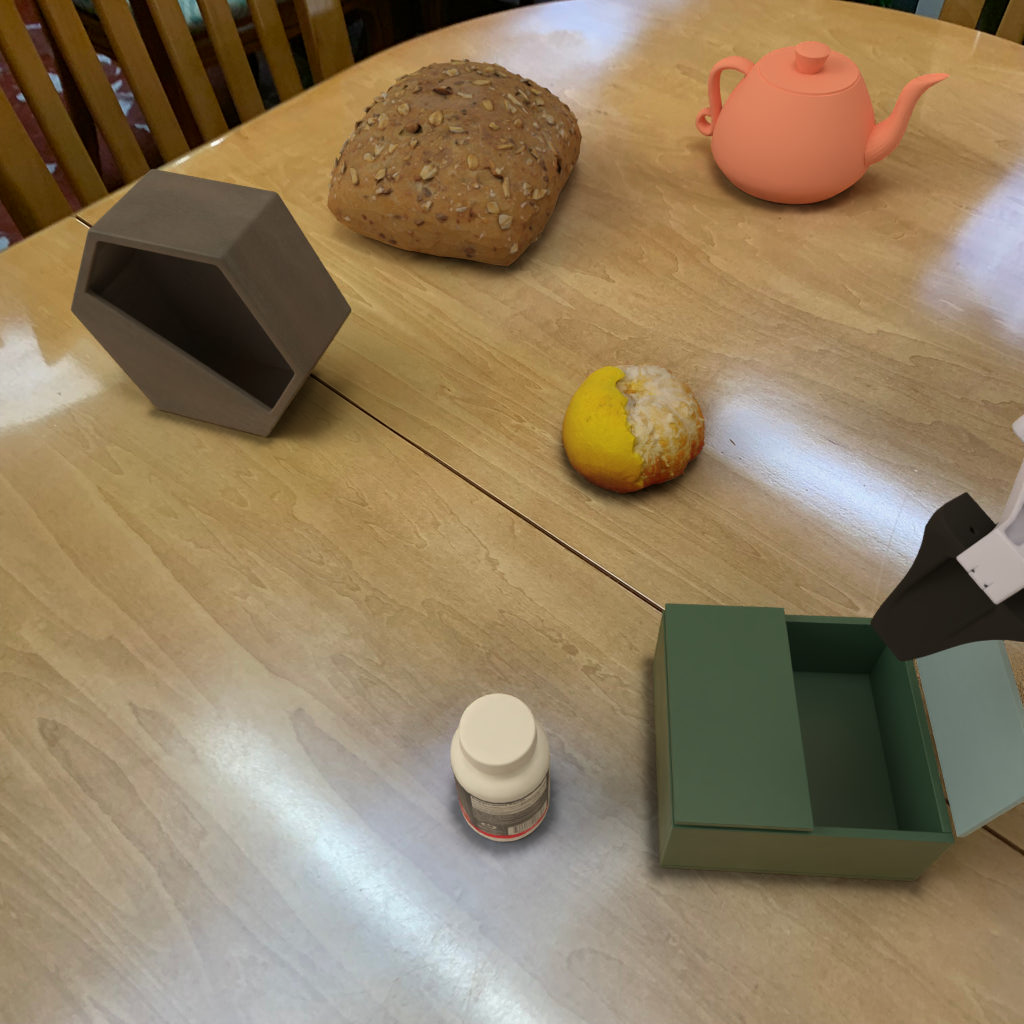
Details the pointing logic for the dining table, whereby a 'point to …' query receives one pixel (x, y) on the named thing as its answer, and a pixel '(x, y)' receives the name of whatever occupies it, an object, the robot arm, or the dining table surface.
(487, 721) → the pill bottle
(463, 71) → the bread
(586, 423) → the fruit
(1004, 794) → the hatch
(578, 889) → the dining table surface
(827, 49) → the teapot
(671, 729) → the seed box
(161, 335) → the planter
